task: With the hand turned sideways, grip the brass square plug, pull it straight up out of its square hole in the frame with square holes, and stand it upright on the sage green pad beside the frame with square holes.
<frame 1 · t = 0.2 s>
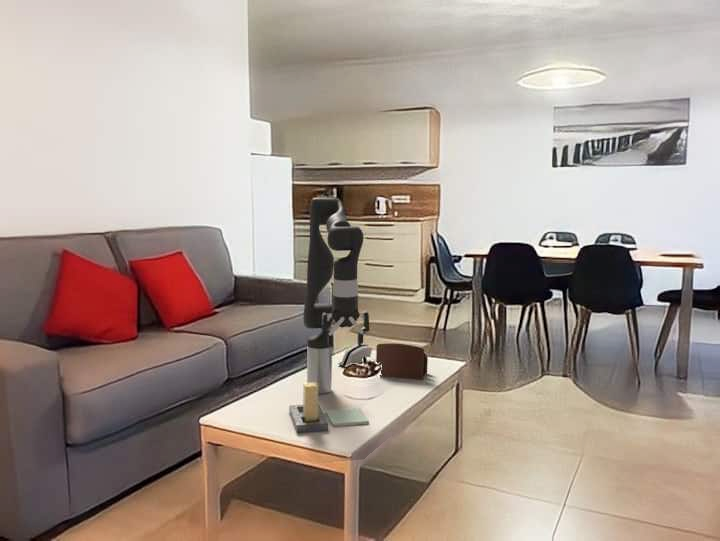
hand: (345, 346, 187), 29 cm above the table, tool pointing down, fingers open, 8 cm apart
plug: (310, 426, 199), resting in frame with square holes
grey curved piece: (356, 364, 270), on the table
frame with square holes: (308, 421, 203), on the table
pad: (346, 418, 206), on the table
letter holder: (401, 375, 256), on the table
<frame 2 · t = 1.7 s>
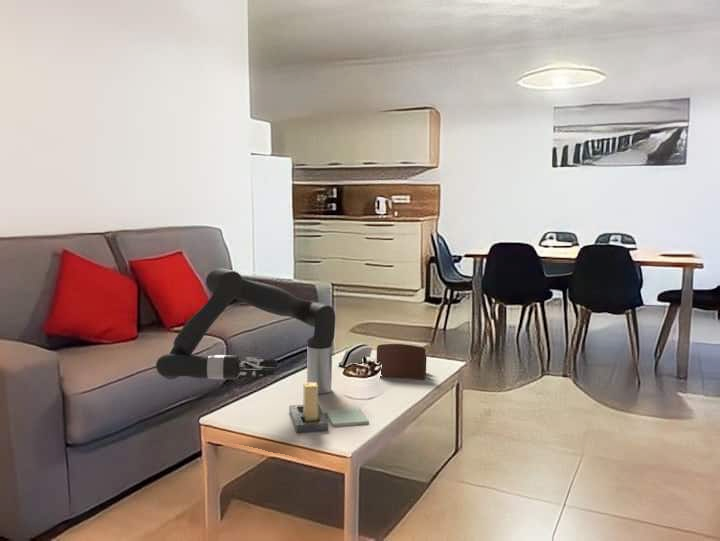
hand: (275, 367, 195), 20 cm above the table, tool horizontal, fingers open, 8 cm apart
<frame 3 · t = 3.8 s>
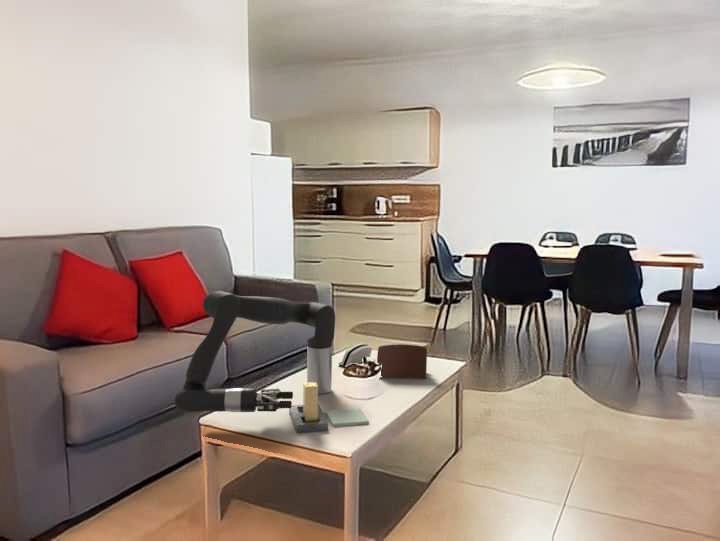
hand: (292, 399, 197), 9 cm above the table, tool horizontal, fingers open, 8 cm apart
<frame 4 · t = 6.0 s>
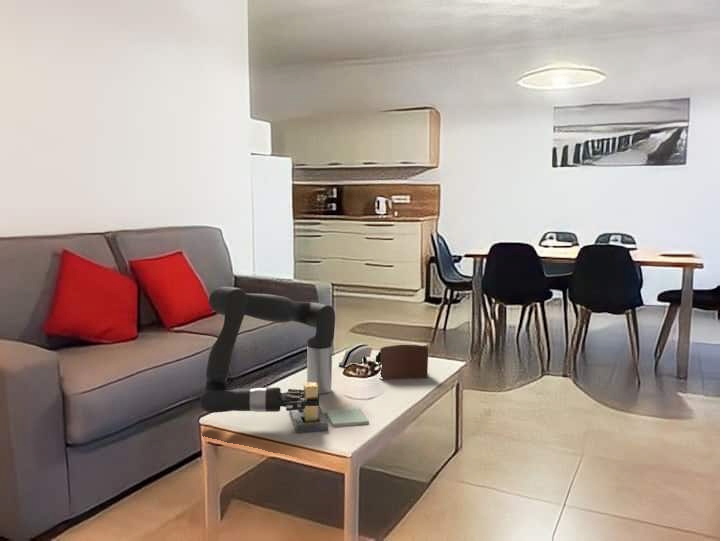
hand: (318, 399, 198), 9 cm above the table, tool horizontal, fingers closed on plug, 4 cm apart
plug: (310, 426, 199), resting in frame with square holes, touching gripper
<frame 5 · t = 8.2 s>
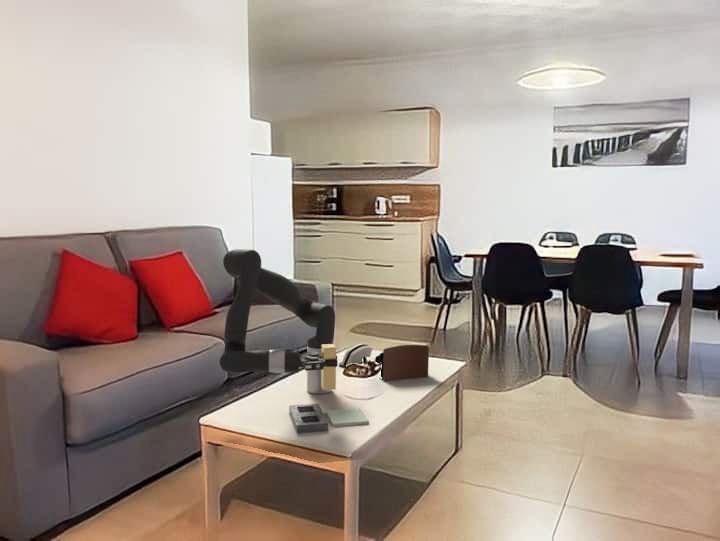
hand: (337, 360, 200), 21 cm above the table, tool horizontal, fingers closed on plug, 4 cm apart
plug: (328, 387, 201), point 12 cm above the table, touching gripper
when the fingers open (11 cm above the table, at t = 10.9 s): plug drops 1 cm, resting on pad.
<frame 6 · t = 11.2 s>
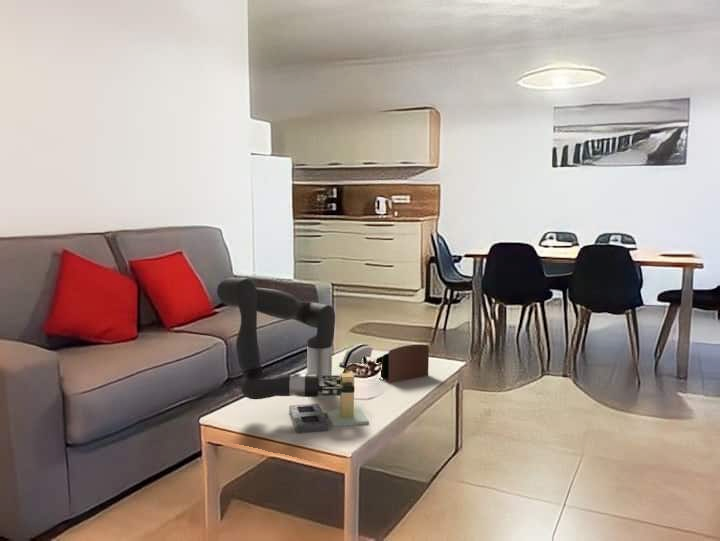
hand: (353, 385, 205), 12 cm above the table, tool horizontal, fingers open, 7 cm apart
plug: (346, 415, 206), point 1 cm above the table, touching pad
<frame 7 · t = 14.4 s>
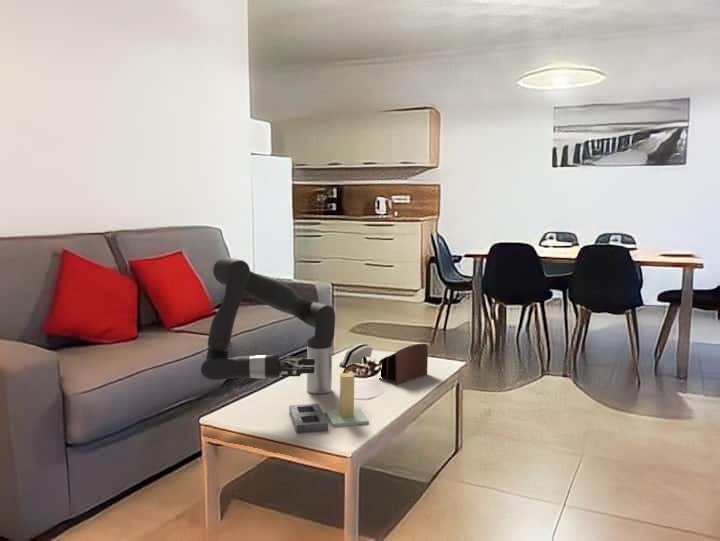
hand: (314, 365, 203), 18 cm above the table, tool horizontal, fingers open, 8 cm apart
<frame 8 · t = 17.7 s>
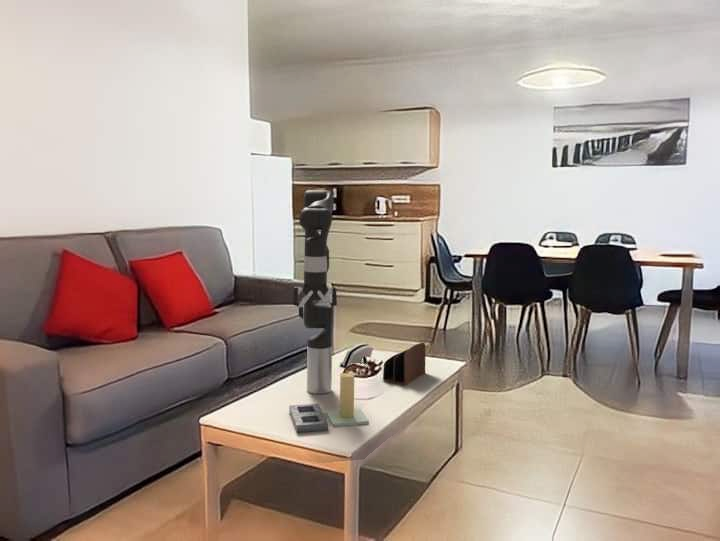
hand: (314, 318, 205), 33 cm above the table, tool pointing down, fingers open, 8 cm apart
at the end: plug inside the target area on the pad (0.1 cm from its centre), point 1.0 cm above the pad's base; plug tilted 0°; the gripper is holding nothing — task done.
